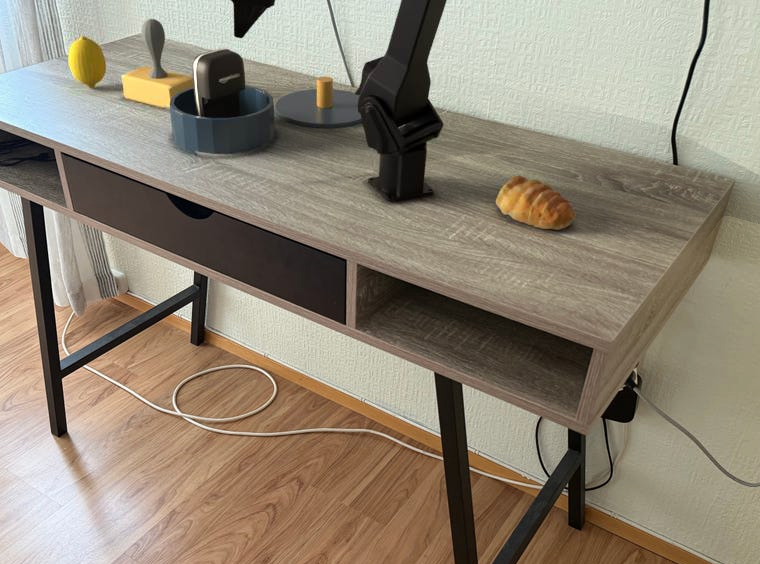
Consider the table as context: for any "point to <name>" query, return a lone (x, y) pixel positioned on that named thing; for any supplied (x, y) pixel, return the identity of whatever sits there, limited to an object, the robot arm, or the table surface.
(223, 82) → the battery charger
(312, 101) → the tin lid
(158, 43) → the rubber stamp
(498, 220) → the table surface
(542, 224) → the pastry
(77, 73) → the lemon
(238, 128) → the tin
